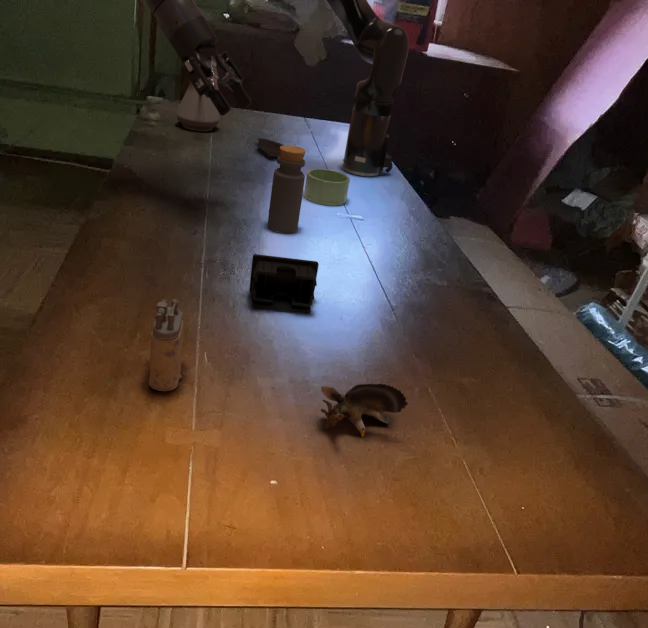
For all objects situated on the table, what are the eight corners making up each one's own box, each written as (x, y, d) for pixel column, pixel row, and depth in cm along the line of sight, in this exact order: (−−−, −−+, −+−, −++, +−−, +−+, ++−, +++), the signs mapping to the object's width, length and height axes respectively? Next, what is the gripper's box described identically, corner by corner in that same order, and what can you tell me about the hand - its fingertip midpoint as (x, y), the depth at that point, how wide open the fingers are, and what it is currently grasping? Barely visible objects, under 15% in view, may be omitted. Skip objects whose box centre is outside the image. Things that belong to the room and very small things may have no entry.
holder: (335, 191, 164) (339, 169, 162) (352, 206, 157) (356, 183, 155) (297, 190, 161) (301, 167, 158) (313, 205, 154) (316, 182, 151)
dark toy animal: (351, 449, 82) (415, 422, 86) (333, 389, 81) (399, 364, 84) (322, 444, 89) (382, 419, 92) (305, 388, 88) (367, 365, 91)
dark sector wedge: (280, 145, 190) (281, 138, 189) (299, 161, 180) (300, 154, 179) (250, 143, 187) (250, 137, 186) (268, 160, 177) (268, 153, 176)
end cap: (311, 294, 117) (317, 255, 114) (313, 314, 111) (320, 274, 108) (249, 287, 116) (253, 247, 112) (248, 307, 110) (252, 266, 106)
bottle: (266, 220, 142) (276, 142, 134) (296, 223, 143) (307, 146, 135) (267, 231, 137) (277, 151, 129) (298, 235, 138) (310, 155, 130)
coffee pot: (174, 119, 196) (177, 59, 188) (217, 123, 199) (222, 64, 191) (177, 141, 179) (180, 76, 171) (224, 146, 182) (229, 82, 174)
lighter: (155, 360, 94) (158, 290, 88) (185, 363, 94) (189, 293, 89) (146, 390, 88) (149, 317, 82) (178, 394, 88) (183, 321, 83)
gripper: (179, 15, 121) (234, 103, 125) (218, 12, 133) (268, 92, 136) (150, 43, 125) (204, 127, 129) (191, 38, 137) (240, 115, 140)
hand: (237, 109), depth 133 cm, fingers open, 8 cm apart
